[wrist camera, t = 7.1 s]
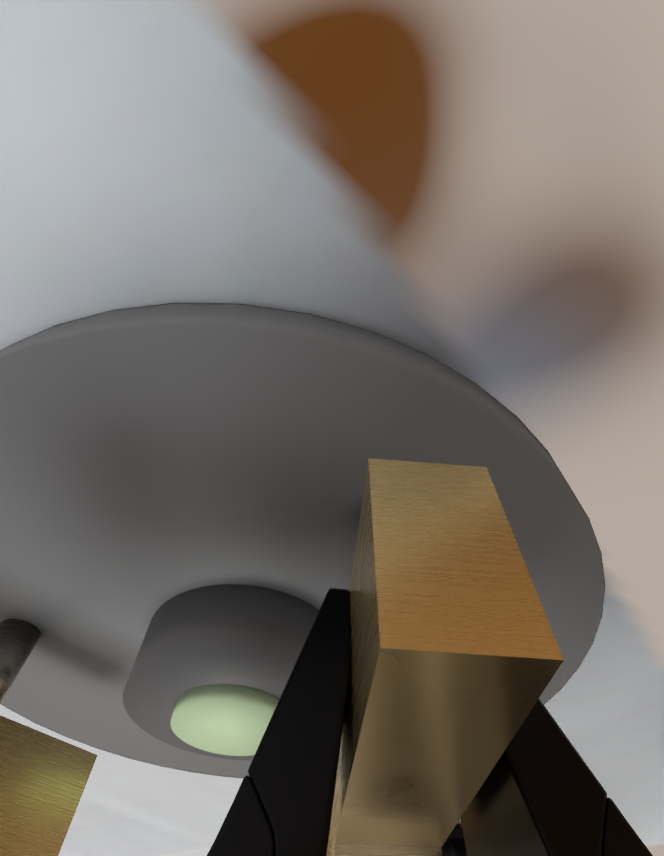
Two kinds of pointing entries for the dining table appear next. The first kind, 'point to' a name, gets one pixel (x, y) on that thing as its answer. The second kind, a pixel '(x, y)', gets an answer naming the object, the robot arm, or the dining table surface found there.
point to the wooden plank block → (34, 766)
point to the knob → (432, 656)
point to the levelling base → (229, 513)
